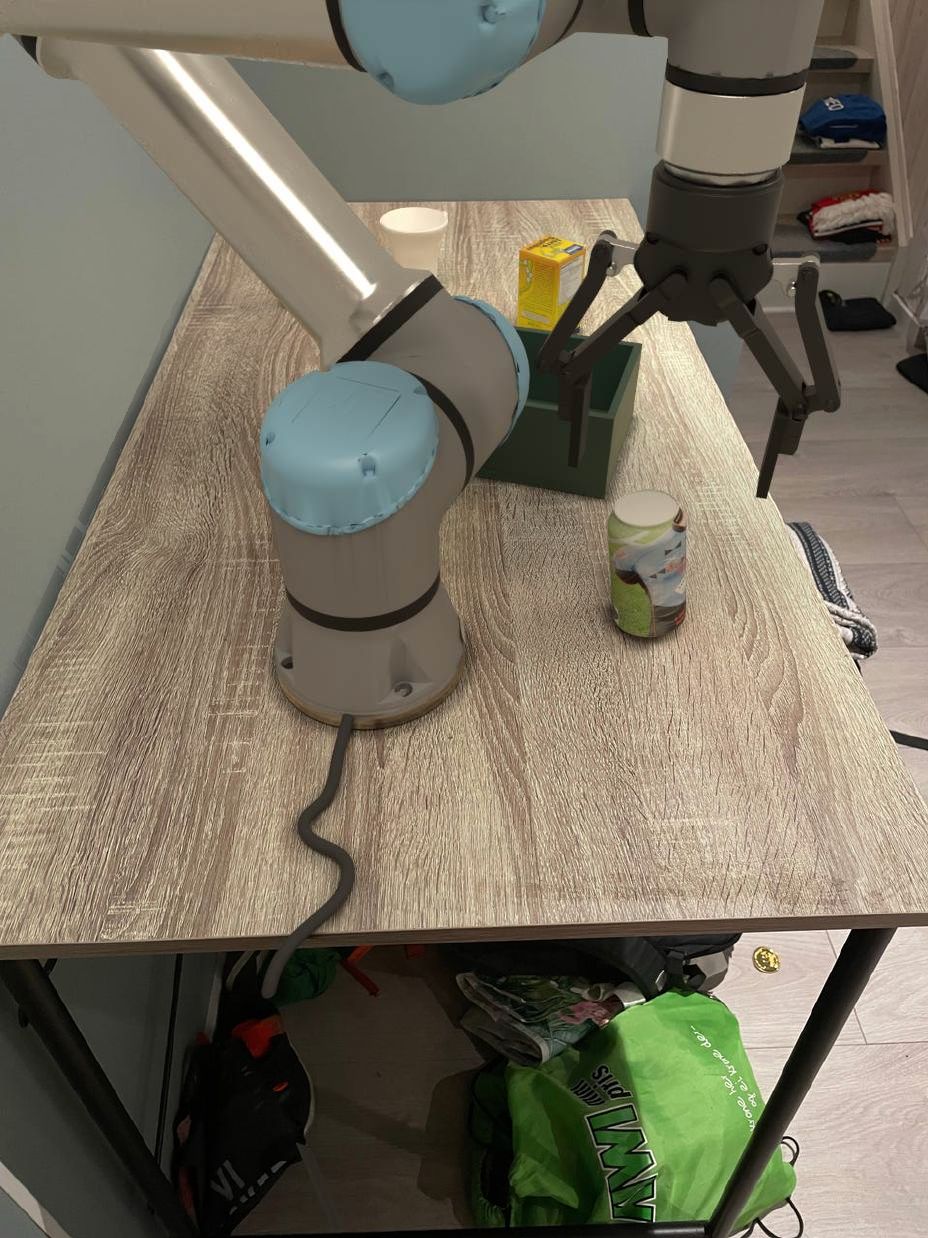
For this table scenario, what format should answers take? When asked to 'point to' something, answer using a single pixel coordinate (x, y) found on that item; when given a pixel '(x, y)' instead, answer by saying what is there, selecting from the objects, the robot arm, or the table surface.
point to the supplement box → (548, 281)
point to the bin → (569, 423)
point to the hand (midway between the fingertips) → (667, 472)
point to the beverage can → (648, 562)
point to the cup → (415, 236)
